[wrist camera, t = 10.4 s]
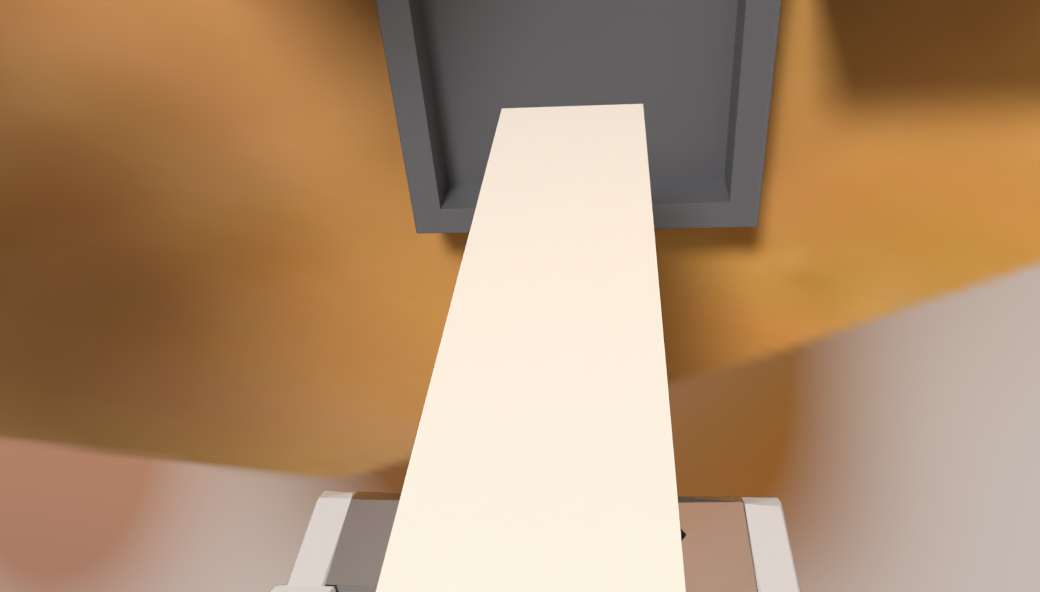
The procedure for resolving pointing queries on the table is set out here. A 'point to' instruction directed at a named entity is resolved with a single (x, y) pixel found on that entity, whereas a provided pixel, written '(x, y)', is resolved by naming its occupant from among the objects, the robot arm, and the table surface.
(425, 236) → the table surface
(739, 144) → the tray
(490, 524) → the peg
